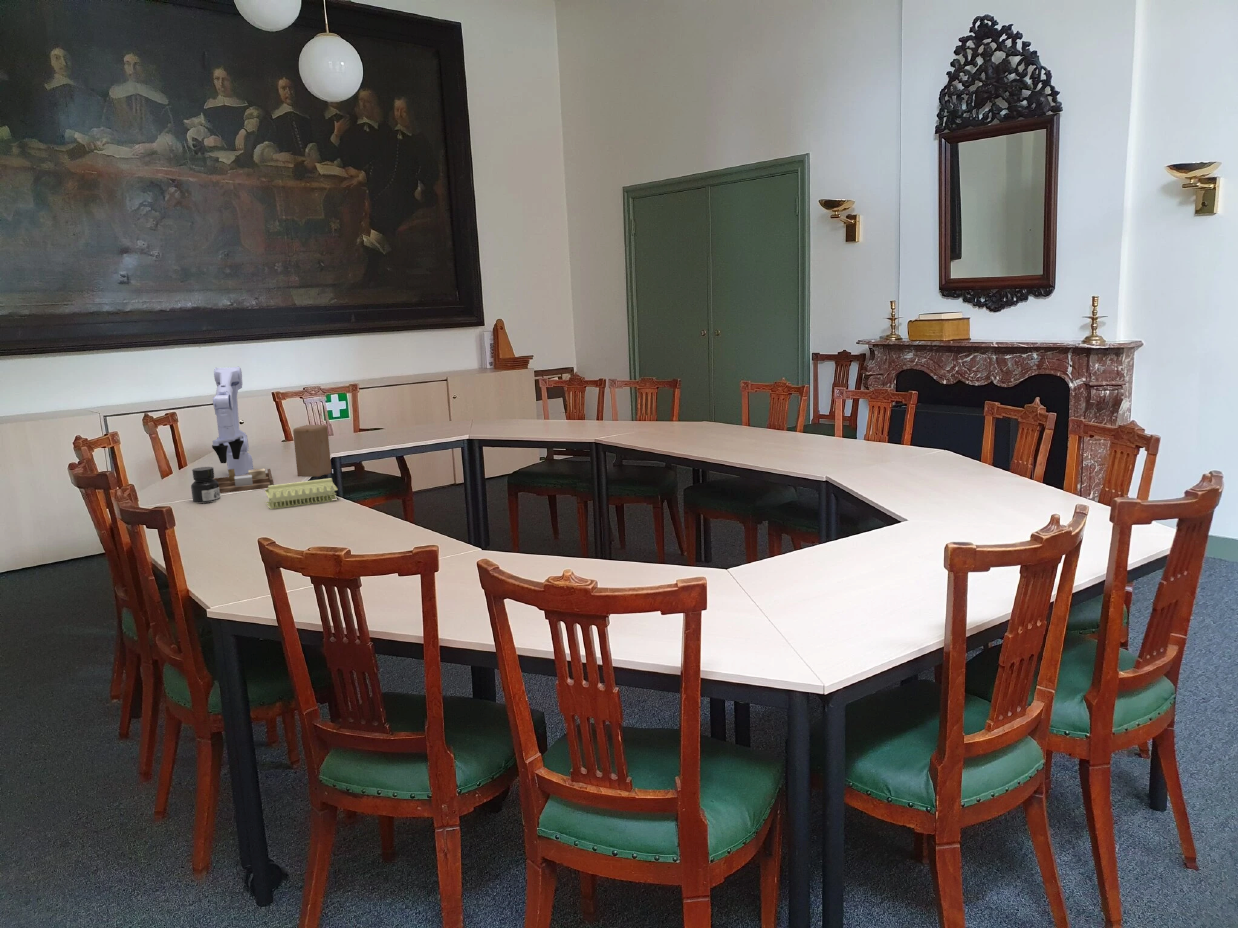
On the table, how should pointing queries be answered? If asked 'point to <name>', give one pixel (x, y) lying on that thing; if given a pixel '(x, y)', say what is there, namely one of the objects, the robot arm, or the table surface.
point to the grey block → (243, 480)
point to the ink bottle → (204, 485)
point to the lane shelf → (229, 486)
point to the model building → (300, 493)
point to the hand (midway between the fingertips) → (230, 461)
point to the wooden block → (312, 450)
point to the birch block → (255, 474)
